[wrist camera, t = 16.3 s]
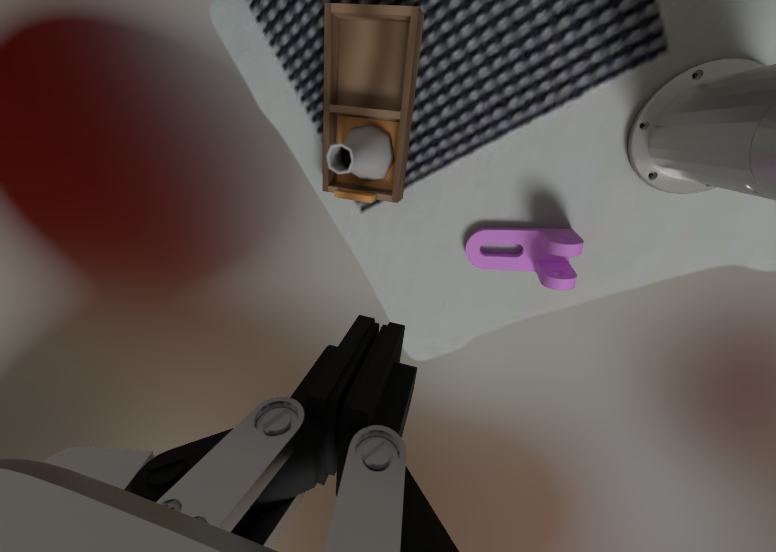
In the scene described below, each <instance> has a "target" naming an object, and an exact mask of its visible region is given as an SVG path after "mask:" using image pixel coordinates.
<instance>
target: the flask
mask: <svg viewBox="0 0 776 552" xmlns="http://www.w3.org/2000/svg"><path fill="white" fill-rule="evenodd" d="M326 159H327V164H328V168H329V169H330V170H332V171H334V172H335V173H337V174H345V173H351V174H353V175H355V176H356V177H358V178H360V179H362V180H363V181H372V180H379V179H385V177H386V175H387V173H388V171H389V169H390V167H391V165H392V163H393V161H394V153H393V146H392V139H391V135H390V134H388V133H386V132H385V131H383V130H381V129H380V128H378V127H376V126H375V125H373V124H369V125H364V126H359V127H354V128H351V129H350V131H349V134H348V136H347V138H346V140H345V142H344V144H343V143H337V144H332V145H330V146H329V149H328V152H327V154H326Z"/></svg>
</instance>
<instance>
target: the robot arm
mask: <svg viewBox="0 0 776 552" xmlns="http://www.w3.org/2000/svg"><path fill="white" fill-rule="evenodd" d="M692 74H695V77H694V78H692ZM641 123H643V127H642V128H639V127H640V124H641ZM628 154H629V159H630V163H631V165H632V167H633V170H634V171H635V173H636V174H637V175H638V176H639V178H640V179H641V180H643V181H644V182H645V183H647V184H648V185H650V186H652V187H654V188H656V189H659V190H662V191H666V192H670V193H678V194H688V193H697V192H703V191H708V190H711V189H713V188H716V187H719V188H723V189H728V190H732V191H737V192H741V193H745V194H750V195H754V196H759V197H763V198H768V199H772V200H776V64H773V65H769V66H765V65H763V64H760V63H758V62H755V61H753V60H747V59H741V58H732V59H720V60H716V61H711V62H707V63H704V64H701V65H698V66H695V67H693V68H690V69H688V70H686V71H684V72H682V73H680V74H678V75H677V76H675V77H674V78H672V79H671V80H669V81H667V82H666V83H665V84H664V85H663V86H661V87H660V88H659V89H658V90H657V91H656V92H654V94H653V95H652V96H651V97H650V98H649V99H648V100H647V102H646V103H645V104H644V105H643V107H642V108H641V110H640V112H639V113H638V115H637V116H636V119H635V121H634V123H633V125H632V128H631V131H630V135H629V140H628ZM650 173H651V176H650V177H648V175H649V174H650ZM404 330H405V325H400V324H396V323H392V322H389V324H388V326H387V325H383V326H382V327H381V329H380V331H379V324H378V323H375V319H374V318H371V317H366V316H362V315H359V316H358V318H357V319H356V321H355V322H354V323H353V325H352V327H351V328H350V329H349V331H348V332H347V334H346V336H345V337H344V338H343V340H342V341H341V343H340V344H339V346H338V347H336V346H332V345H329V346H327V347H326V349H325V350H324V351H323V353H322V354H321V355H320V357H319V358H318V360H317V361H316V362H315V364H314V365H313V367H312V368H311V369H310V371H309V372H308V374H307V375H306V376H305V378H304V379H303V381H302V382H301V383H300V385H299V386H298V388H297V389H296V390H295V392H294V393H293V394H292V396H291V397H290V398H288V397H276V398H271V399H269V400H266V401H264V402H263V403H261V404H260V405H258V406H257V407H256V408H255V409H254V410H252V411H251V412H250V413H249V414H248V415H247V416H246V417H245V418H244V419H243V420H242V421H241V422H240V423H239V424H238V425H237V426H236V427H235V428H232V429H229V430H227V431H224V432H221V433H218V434H215V435H212V436H209V437H206V438H203V439H200V440H197V441H194V442H191V443H188V444H185V445H182V446H180V447H177V448H174V449H171V450H168V451H166V452H164V453H161V454H159V455H157V456H154V455H153V452H152V451H141V450H129V449H116V448H104V447H91V446H77V447H71V448H68V449H65V450H62V451H60V452H58V453H56V454H55V455H52V456H51V457H49V458H47V459H46V460H45V461H43V462H39V461H33V460H28V459H14V458H5V459H4V458H3V459H0V552H277V551H275V550H272V549H271V547H272V546H273V544H274V543H275V541H276V540H277V538H278V537H279V535H280V533H281V532H282V530H283V529H284V527H285V526H286V524H287V523H288V521H289V520H290V518H291V516H292V515H293V513H294V512H295V510H296V509H297V507H298V506H299V504H300V503H301V501H302V499H303V497H304V495H305V491H308V490H310V489H312V488H314V487H315V485H316V483H319V484H322V485H324V484H325V482H326V479H327V477H328V475H329V474H331V475H335V473H336V471H337V482H336V496H337V499H336V503H335V508H334V511H333V516H332V520H331V524H330V528H329V532H328V536H327V540H326V544H325V548H324V552H459V551H458V549H457V548H456V546H455V544H454V543H453V541H452V540H451V538H450V536H449V535H448V533H447V532H446V530H445V528H444V527H443V525H442V524H441V522H440V520H439V519H438V517H437V515H436V514H435V512H434V511H433V509H432V507H431V506H430V504H429V503H428V501H427V499H426V498H425V496H424V494H423V493H422V491H421V490H420V488H419V486H418V485H417V483H416V482H415V480H414V478H413V477H412V475H411V474H410V472H409V470H408V469H407V467H406V448H405V444H404V442H403V440H402V434H403V430H404V426H405V422H406V419H407V415H408V411H409V406H410V403H411V398H412V394H413V389H414V384H415V378H416V372H417V367H413V366H409V365H405V364H402V363H400V357H401V350H402V344H403V337H404Z"/></svg>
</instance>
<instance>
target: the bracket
mask: <svg viewBox="0 0 776 552" xmlns="http://www.w3.org/2000/svg"><path fill="white" fill-rule="evenodd" d="M583 242H584V241H583V240H582V238H581V237H580V236H579V235H578V234H577V233H576V232H575V231H574V230H573V229H568V228H496V227H486V228H481V229H478V230H476V231H475V232H473V233H472V234H471V235H470V237H469V238H468V240H467V243H466V255H467V258H468V260H469V261H470V262H471V263H472V264H473V265H475V266H476V267H479V268H482V269H499V270H521V271H535V272H537V275H538V277H539V280H540V282H541V284H542V285H544V286H545V287H548V288H551V289H555V290H570V289H573V288H574V287H575V282H576V277H577V274H576V273H575V271H574V270H573V268H572V267H571V265H570V264H569V258H570V257H572V256H578V255H580V254H581V252H582V247H583ZM485 243H494V244H519V245H521V246H522V251H521V252H520V253H518V254H493V253H483V252H482V251H481V250H480V247H481V246H482V245H483V244H485Z"/></svg>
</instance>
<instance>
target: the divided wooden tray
mask: <svg viewBox="0 0 776 552" xmlns="http://www.w3.org/2000/svg"><path fill="white" fill-rule="evenodd" d="M423 21H424V15H423V13H422V11H421V9H420V7H419V6H397V5H370V4H343V3H325V16H324V113H323V191H326V192H333V193H335V197H337V198H343V199H350V200H356V201H362V202H368V203H372V202H374V201H375V200H383V201H389V202H395V203H398V202H399V201H400V200H401V199H402V198H403V190H404V181H405V173H406V165H407V156H408V148H409V139H410V131H411V123H412V114H413V106H414V97H415V89H416V80H417V72H418V64H419V55H420V47H421V38H422V30H423ZM369 124H373V125H375V126H376V127H378V128H380V129H381V130H383V131H385V132H386V133H388V134H390V135H391V139H392V146H393V153H394V161H393V163H392V165H391V167H390V169H389V171H388V173H387V175H386V177H385V179H379V180H372V181H363V180H362V179H360V178H358V177H356V176H355V175H353V174H351V173H345V174H337V173H335V172H334V171H332V170H330V169H329V168H328V164H327V159H326V154H327V152H328V149H329V146H330V145H332V144H337V143H343V144H344V142H345V140H346V138H347V136H348V134H349V131H350V129H351V128H354V127H359V126H364V125H369Z"/></svg>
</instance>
